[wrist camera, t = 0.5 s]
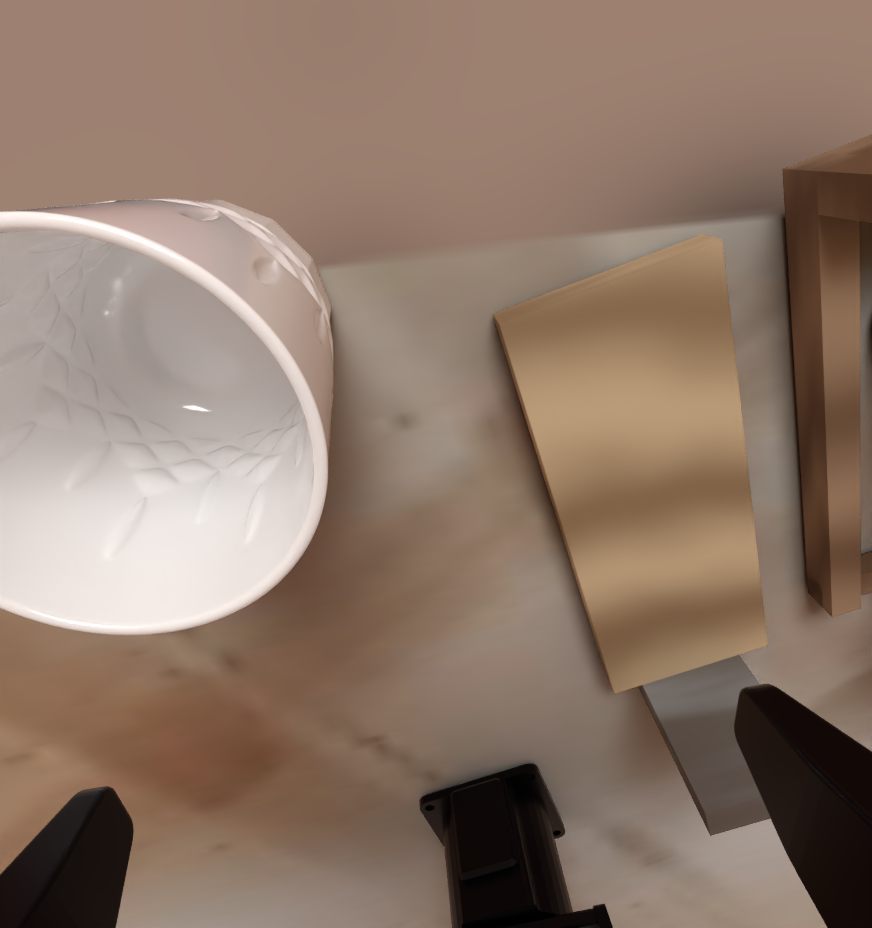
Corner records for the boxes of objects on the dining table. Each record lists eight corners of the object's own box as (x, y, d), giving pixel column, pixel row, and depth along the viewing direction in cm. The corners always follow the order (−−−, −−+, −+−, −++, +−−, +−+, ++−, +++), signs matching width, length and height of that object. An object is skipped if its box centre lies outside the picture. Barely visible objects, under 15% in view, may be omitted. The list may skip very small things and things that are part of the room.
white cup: (328, 164, 17) (277, 186, 8) (365, 415, 21) (357, 611, 12) (49, 190, 17) (-310, 240, 8) (138, 439, 21) (-40, 659, 12)
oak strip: (755, 649, 28) (862, 791, 22) (612, 694, 29) (676, 845, 22) (702, 233, 19) (862, 277, 13) (492, 314, 19) (546, 393, 13)
